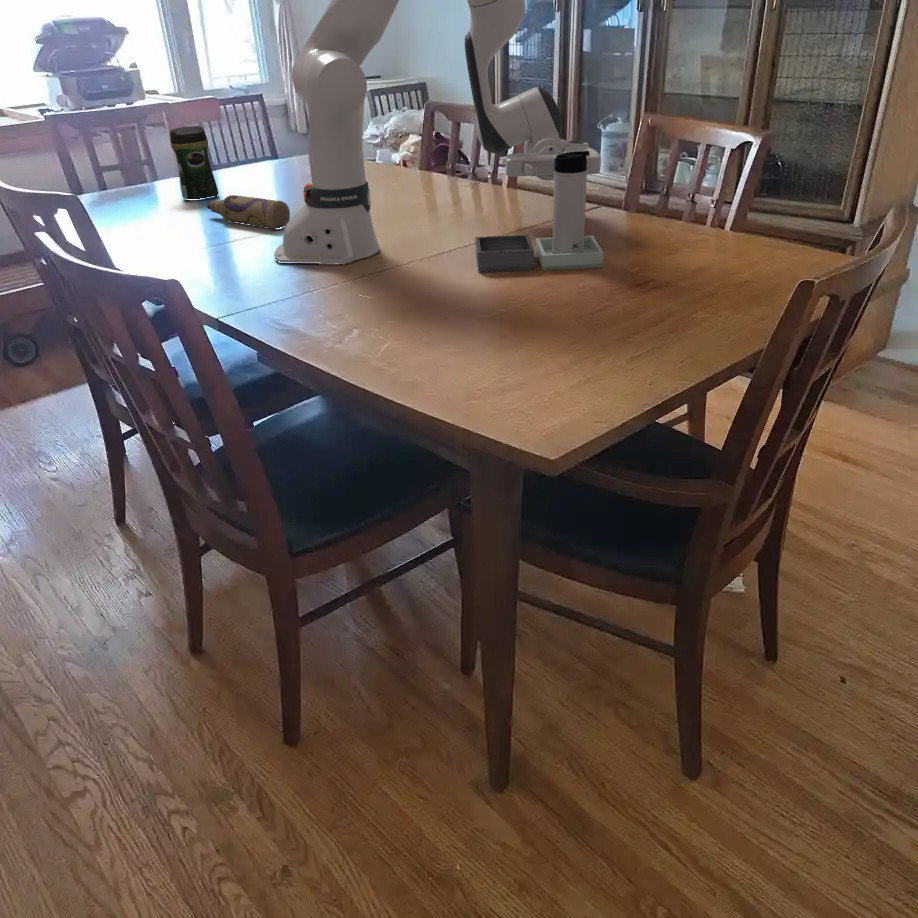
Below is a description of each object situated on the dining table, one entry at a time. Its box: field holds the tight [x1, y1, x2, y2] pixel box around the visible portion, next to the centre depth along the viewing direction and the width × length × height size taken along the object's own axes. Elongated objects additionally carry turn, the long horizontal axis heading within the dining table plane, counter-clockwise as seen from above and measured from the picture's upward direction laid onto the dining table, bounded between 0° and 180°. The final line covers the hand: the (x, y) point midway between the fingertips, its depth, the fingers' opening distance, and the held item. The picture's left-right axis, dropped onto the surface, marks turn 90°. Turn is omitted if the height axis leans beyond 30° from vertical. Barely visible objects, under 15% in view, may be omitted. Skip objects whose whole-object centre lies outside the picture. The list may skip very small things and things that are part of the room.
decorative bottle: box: [206, 194, 291, 230], centre depth 194 cm, size 26×8×7 cm, turn 55°
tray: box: [534, 235, 604, 272], centre depth 160 cm, size 12×12×3 cm
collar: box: [474, 234, 535, 274], centre depth 160 cm, size 11×11×4 cm
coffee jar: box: [169, 125, 220, 200], centre depth 216 cm, size 10×8×19 cm
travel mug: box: [552, 151, 589, 254], centre depth 155 cm, size 6×7×20 cm
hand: (557, 171), depth 164 cm, fingers open, 8 cm apart
